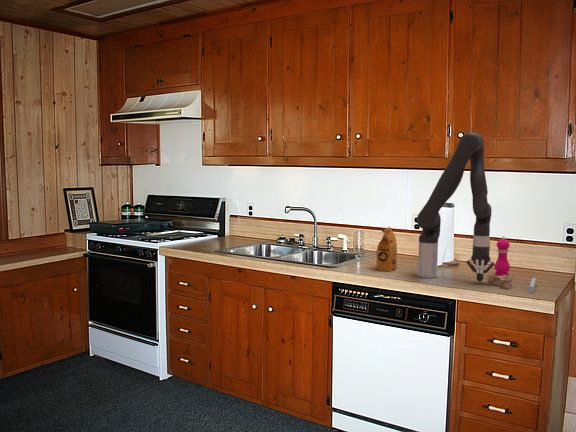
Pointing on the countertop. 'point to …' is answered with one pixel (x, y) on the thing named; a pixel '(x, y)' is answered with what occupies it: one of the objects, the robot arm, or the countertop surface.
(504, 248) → the pepper mill
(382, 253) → the coffee package
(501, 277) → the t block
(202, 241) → the countertop surface
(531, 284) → the stop rail
